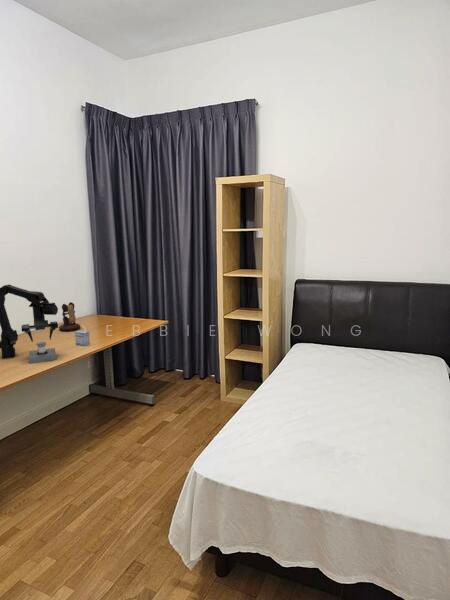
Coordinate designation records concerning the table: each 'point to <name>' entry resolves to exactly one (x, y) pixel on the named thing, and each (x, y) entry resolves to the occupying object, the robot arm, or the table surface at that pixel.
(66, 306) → the brown figurine
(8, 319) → the robot arm
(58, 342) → the table surface
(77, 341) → the medicine box
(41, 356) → the socket block
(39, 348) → the silver flanged peg
